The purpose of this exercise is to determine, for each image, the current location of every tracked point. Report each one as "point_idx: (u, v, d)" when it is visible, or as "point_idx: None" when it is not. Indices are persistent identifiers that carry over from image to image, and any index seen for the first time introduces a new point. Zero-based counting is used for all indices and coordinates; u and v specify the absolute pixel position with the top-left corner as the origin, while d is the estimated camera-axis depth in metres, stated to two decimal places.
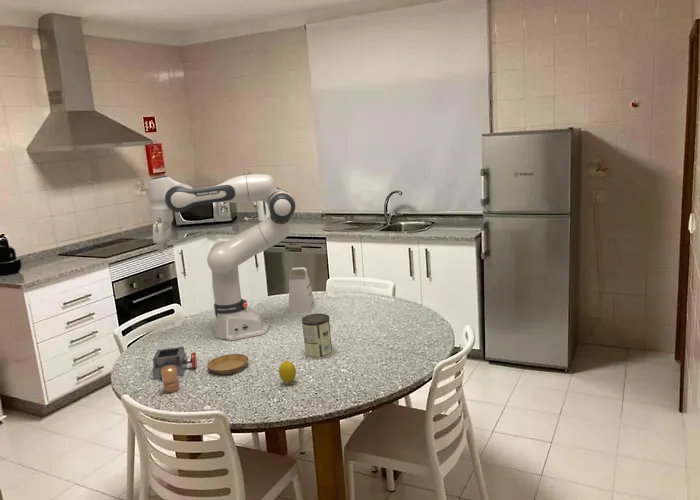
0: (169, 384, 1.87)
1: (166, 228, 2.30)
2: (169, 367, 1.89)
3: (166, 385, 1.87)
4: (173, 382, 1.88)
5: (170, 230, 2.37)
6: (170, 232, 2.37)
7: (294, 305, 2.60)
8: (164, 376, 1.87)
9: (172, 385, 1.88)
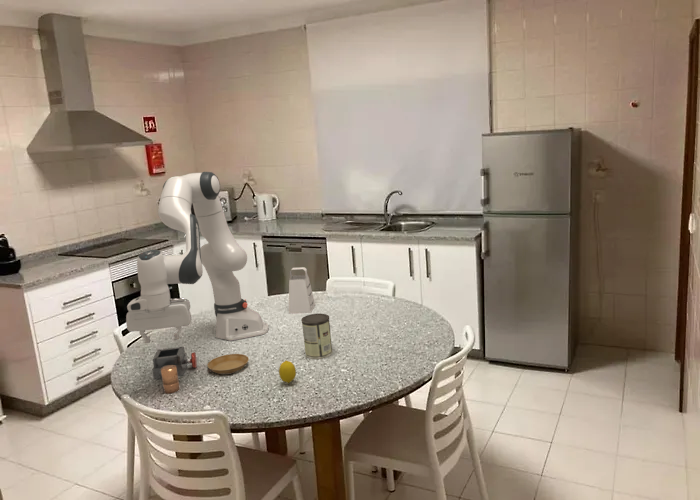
0: (169, 384, 1.87)
1: None
2: (169, 367, 1.89)
3: (166, 385, 1.87)
4: (173, 382, 1.88)
5: None
6: None
7: (294, 305, 2.60)
8: (164, 376, 1.87)
9: (172, 385, 1.88)
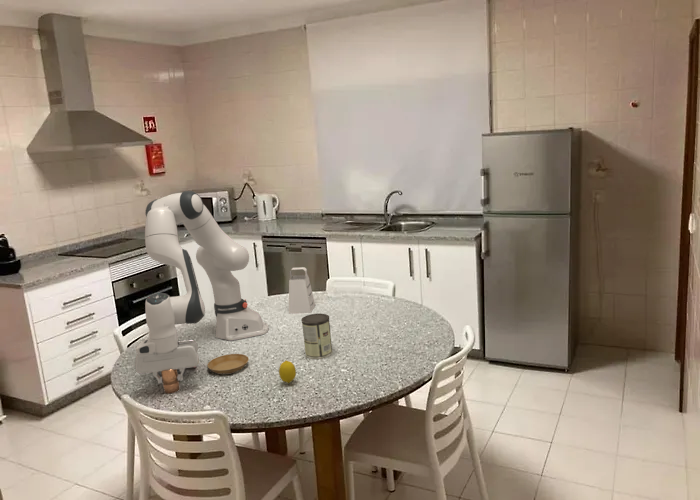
0: (169, 384, 1.87)
1: None
2: None
3: (166, 385, 1.87)
4: (173, 382, 1.88)
5: None
6: None
7: (294, 305, 2.60)
8: (164, 376, 1.87)
9: (172, 385, 1.88)
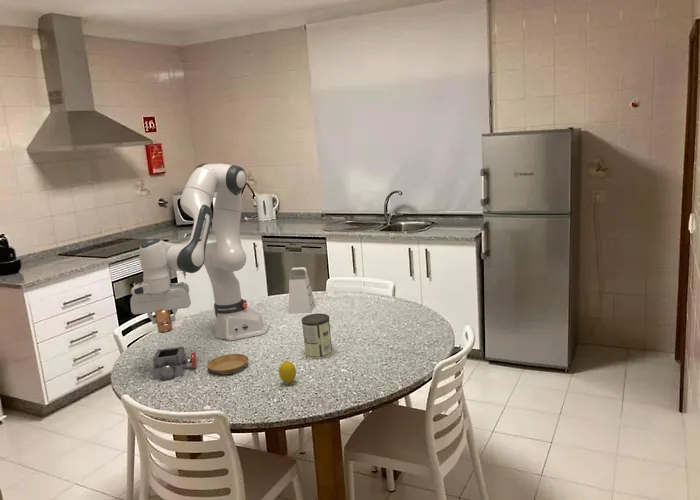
0: (162, 324, 2.00)
1: None
2: None
3: (160, 325, 2.00)
4: (166, 322, 2.00)
5: None
6: None
7: (294, 305, 2.60)
8: (158, 317, 1.99)
9: (166, 325, 2.00)
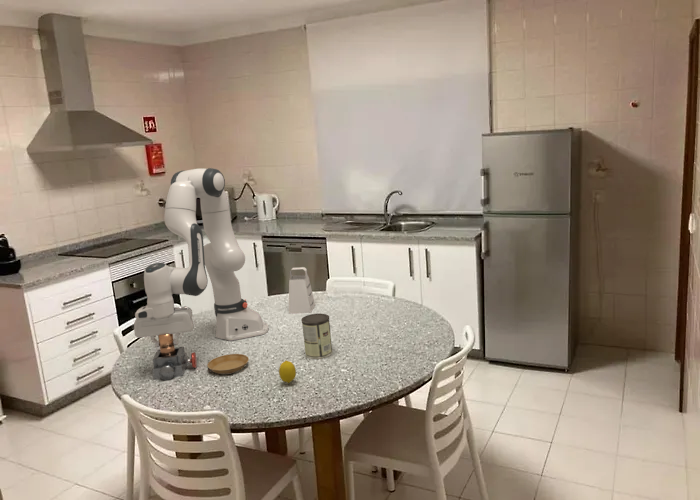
0: (165, 347, 2.02)
1: None
2: None
3: (162, 348, 2.02)
4: (169, 346, 2.02)
5: None
6: None
7: (294, 305, 2.60)
8: (161, 340, 2.01)
9: (168, 348, 2.02)
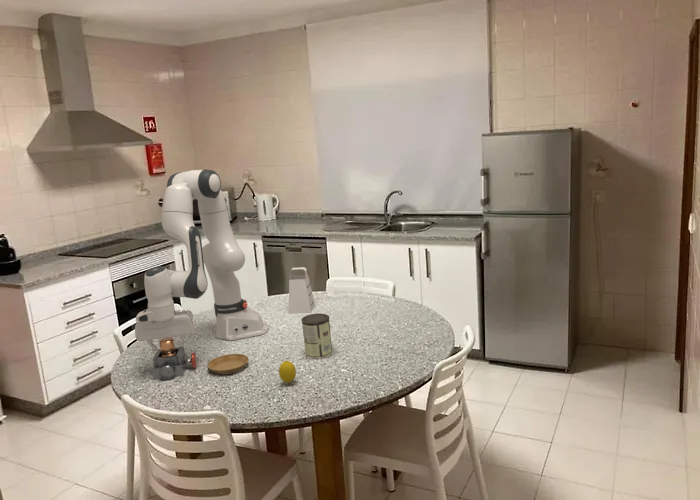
0: (167, 354, 2.02)
1: None
2: (166, 339, 2.04)
3: (164, 355, 2.03)
4: (170, 352, 2.03)
5: None
6: None
7: (294, 305, 2.60)
8: (163, 347, 2.02)
9: (170, 355, 2.03)
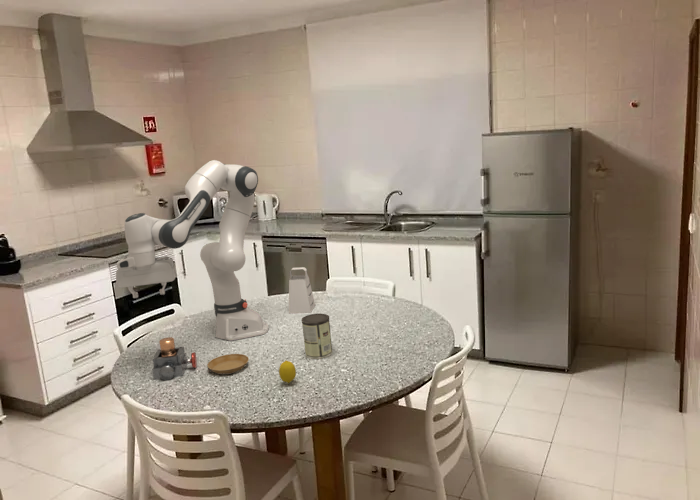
0: (167, 354, 2.02)
1: None
2: (167, 339, 2.04)
3: (164, 355, 2.03)
4: (171, 353, 2.03)
5: None
6: None
7: (294, 305, 2.60)
8: (163, 347, 2.02)
9: (170, 355, 2.03)
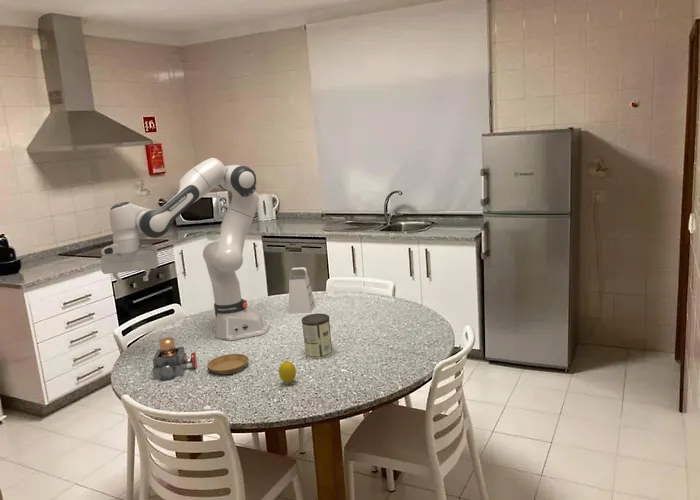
0: (167, 354, 2.03)
1: None
2: (166, 339, 2.04)
3: (164, 355, 2.03)
4: (171, 352, 2.03)
5: None
6: None
7: (294, 305, 2.60)
8: (163, 347, 2.02)
9: (170, 355, 2.03)
